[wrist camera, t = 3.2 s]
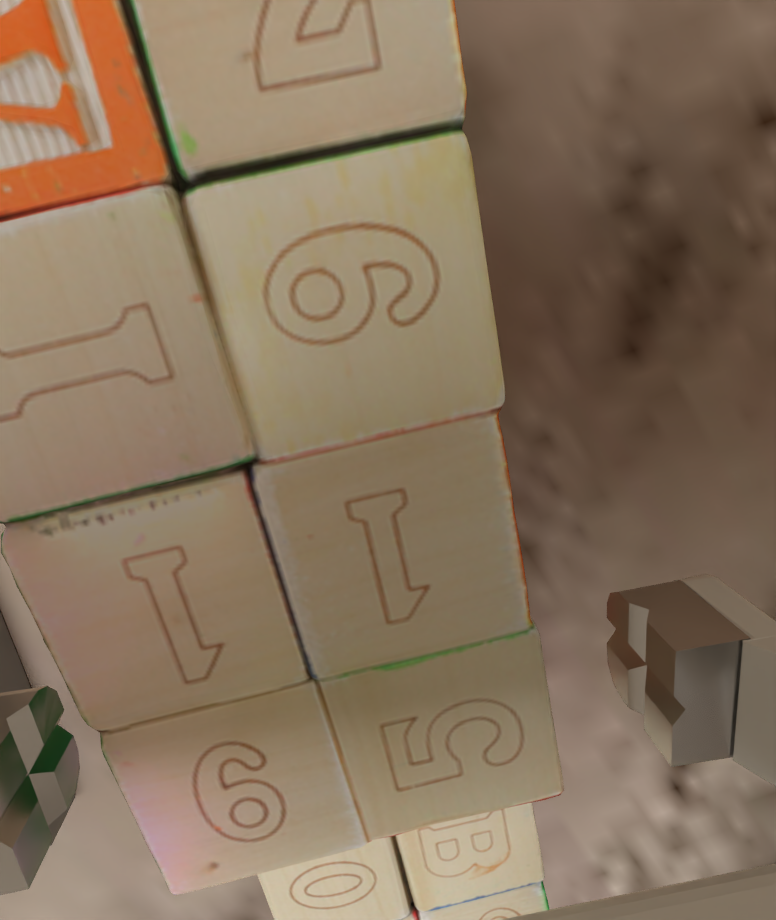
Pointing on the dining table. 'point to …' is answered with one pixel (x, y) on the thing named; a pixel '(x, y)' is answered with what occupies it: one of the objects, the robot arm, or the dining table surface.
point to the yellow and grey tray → (6, 675)
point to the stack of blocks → (271, 447)
